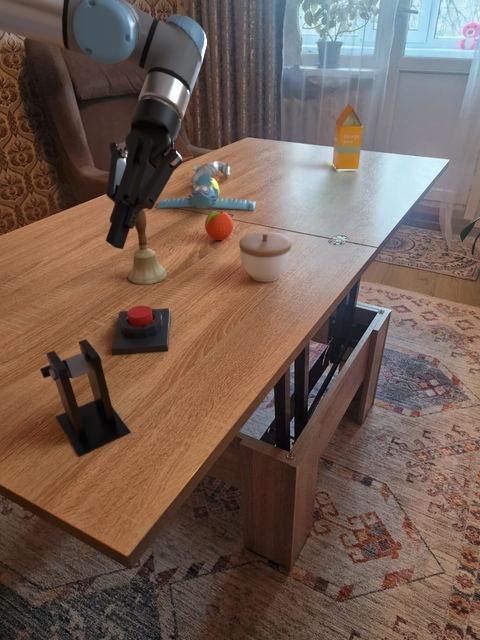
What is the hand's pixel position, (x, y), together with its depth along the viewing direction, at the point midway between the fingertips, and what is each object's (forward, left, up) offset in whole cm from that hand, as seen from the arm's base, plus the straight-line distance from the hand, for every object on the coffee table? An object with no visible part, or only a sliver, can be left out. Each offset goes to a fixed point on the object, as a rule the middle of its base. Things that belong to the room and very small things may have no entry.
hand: (114, 244), depth 76 cm
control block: (+2, -2, -16) cm, 17 cm away
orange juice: (+65, +99, -16) cm, 119 cm away
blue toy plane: (+15, +64, -17) cm, 68 cm away
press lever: (-4, -22, -8) cm, 24 cm away
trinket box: (+26, +19, -16) cm, 36 cm away
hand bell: (+1, +22, -16) cm, 27 cm away
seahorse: (+17, +90, -16) cm, 93 cm away
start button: (+2, -2, -13) cm, 13 cm away
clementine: (+17, +40, -16) cm, 46 cm away
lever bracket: (-3, -24, -16) cm, 29 cm away
